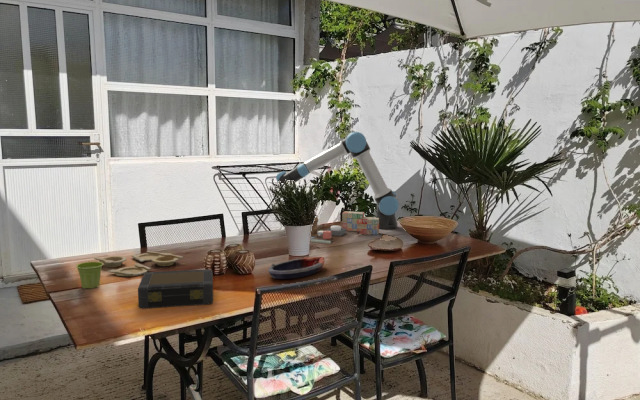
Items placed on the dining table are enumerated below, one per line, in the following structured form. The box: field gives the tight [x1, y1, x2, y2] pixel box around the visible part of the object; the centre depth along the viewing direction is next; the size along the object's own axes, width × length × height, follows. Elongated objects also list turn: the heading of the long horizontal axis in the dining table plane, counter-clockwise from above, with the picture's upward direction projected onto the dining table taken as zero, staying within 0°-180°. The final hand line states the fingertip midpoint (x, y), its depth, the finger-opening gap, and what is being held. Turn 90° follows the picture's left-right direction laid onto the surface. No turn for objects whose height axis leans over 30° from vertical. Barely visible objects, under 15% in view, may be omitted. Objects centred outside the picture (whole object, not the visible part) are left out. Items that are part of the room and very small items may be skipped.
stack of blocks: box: [341, 210, 380, 236], centre depth 296 cm, size 21×6×12 cm, turn 74°
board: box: [310, 227, 347, 245], centre depth 281 cm, size 17×24×4 cm
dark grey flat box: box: [137, 268, 214, 309], centre depth 180 cm, size 25×20×8 cm
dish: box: [267, 256, 326, 280], centre depth 212 cm, size 16×31×5 cm, turn 133°
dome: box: [330, 224, 342, 231], centre depth 285 cm, size 6×6×4 cm
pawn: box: [310, 216, 319, 238], centre depth 280 cm, size 5×5×11 cm
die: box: [322, 230, 332, 240], centre depth 274 cm, size 4×4×4 cm
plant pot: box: [75, 261, 104, 289], centre depth 191 cm, size 9×9×9 cm
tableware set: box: [93, 250, 184, 277], centre depth 223 cm, size 35×29×4 cm
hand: (305, 223), depth 287 cm, fingers open, 13 cm apart
